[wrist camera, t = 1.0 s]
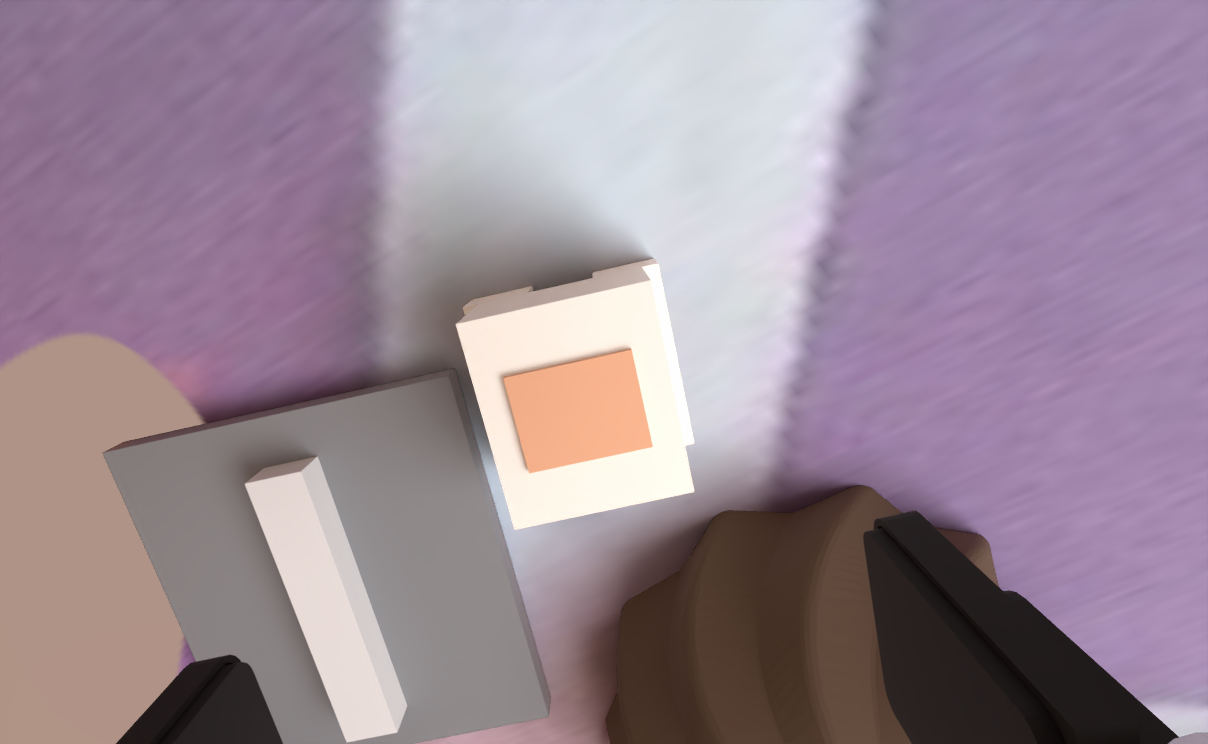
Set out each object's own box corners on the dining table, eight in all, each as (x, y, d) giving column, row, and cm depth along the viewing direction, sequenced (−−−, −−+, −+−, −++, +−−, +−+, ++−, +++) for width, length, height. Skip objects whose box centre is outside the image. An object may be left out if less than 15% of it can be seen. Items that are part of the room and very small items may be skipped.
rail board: (123, 442, 27) (72, 468, 24) (455, 368, 26) (439, 386, 23) (260, 754, 31) (229, 806, 28) (550, 696, 30) (546, 744, 27)
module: (472, 299, 25) (434, 329, 19) (653, 258, 25) (671, 276, 19) (517, 462, 27) (495, 536, 21) (687, 426, 27) (714, 490, 21)
